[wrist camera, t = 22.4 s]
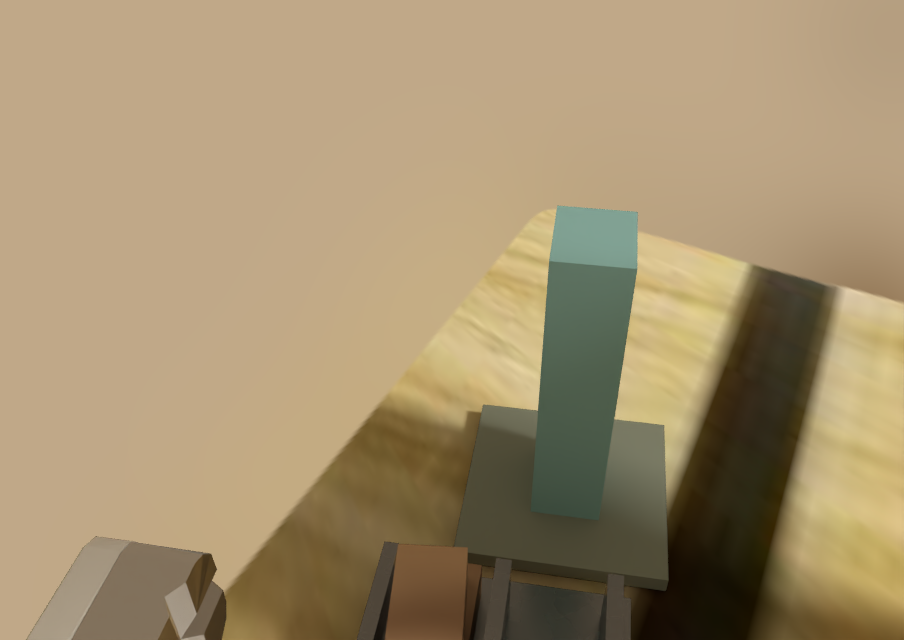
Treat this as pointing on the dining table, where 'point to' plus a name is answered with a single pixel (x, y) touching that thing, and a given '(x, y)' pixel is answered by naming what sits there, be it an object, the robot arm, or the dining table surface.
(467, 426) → the dining table surface
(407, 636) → the upper walnut offcut
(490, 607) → the rack
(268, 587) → the dining table surface
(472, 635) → the lower walnut offcut
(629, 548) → the rubber mat
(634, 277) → the teal rectangular block
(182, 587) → the robot arm
